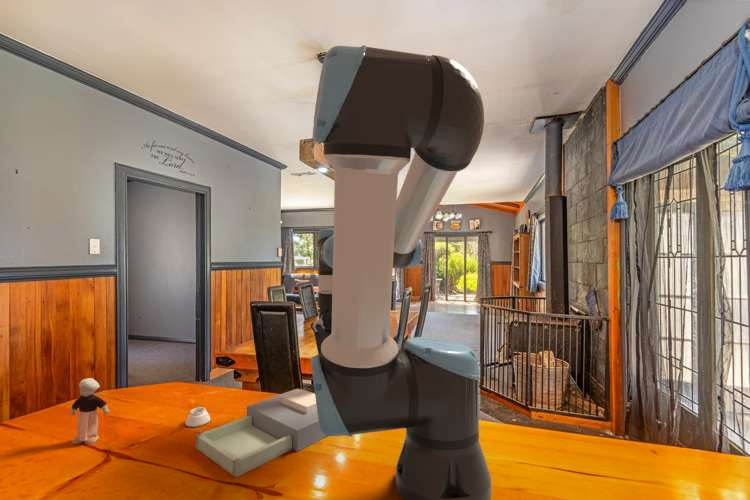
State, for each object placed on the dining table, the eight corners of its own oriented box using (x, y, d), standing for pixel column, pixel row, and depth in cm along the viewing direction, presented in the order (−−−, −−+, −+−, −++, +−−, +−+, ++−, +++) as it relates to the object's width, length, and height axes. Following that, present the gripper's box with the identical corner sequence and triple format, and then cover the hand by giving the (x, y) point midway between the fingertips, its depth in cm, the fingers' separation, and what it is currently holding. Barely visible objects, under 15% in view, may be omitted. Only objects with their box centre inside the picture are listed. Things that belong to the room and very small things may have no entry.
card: (328, 404, 83) (328, 398, 83) (307, 413, 78) (307, 407, 78) (302, 395, 89) (302, 389, 89) (281, 402, 84) (281, 396, 84)
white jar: (215, 420, 85) (198, 416, 87) (215, 407, 85) (198, 404, 87) (197, 429, 80) (180, 426, 82) (197, 416, 80) (180, 412, 82)
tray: (291, 449, 71) (291, 436, 71) (235, 477, 63) (235, 462, 63) (249, 426, 81) (249, 415, 81) (195, 448, 72) (195, 435, 72)
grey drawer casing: (348, 425, 81) (348, 407, 81) (297, 451, 71) (297, 430, 71) (297, 404, 93) (297, 388, 93) (246, 424, 82) (246, 406, 82)
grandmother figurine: (60, 447, 73) (61, 383, 73) (72, 438, 77) (72, 376, 77) (105, 443, 74) (105, 380, 75) (114, 434, 78) (114, 374, 78)
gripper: (341, 288, 98) (342, 378, 98) (302, 293, 88) (303, 392, 88) (362, 290, 93) (363, 384, 93) (323, 295, 83) (324, 400, 83)
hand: (334, 388), depth 90 cm, fingers closed
